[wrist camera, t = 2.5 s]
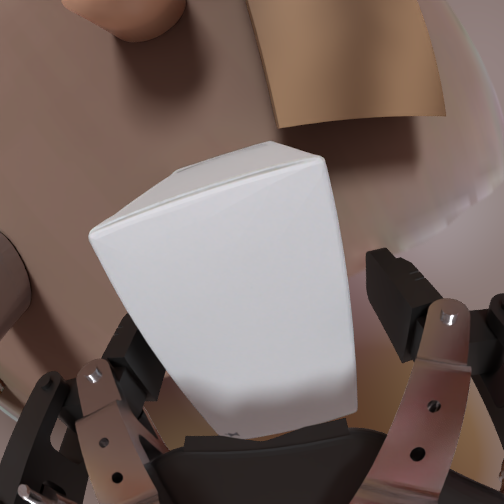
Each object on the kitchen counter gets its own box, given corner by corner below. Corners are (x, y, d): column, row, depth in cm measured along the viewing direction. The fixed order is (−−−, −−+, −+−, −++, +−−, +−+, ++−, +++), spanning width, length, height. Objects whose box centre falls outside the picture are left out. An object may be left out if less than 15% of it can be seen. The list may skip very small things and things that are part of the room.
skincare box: (315, 288, 19) (361, 416, 10) (227, 311, 20) (218, 444, 10) (278, 136, 15) (335, 151, 5) (171, 170, 15) (73, 238, 6)
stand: (271, 128, 15) (279, 128, 11) (228, -36, 9) (225, -69, 6) (408, 114, 14) (446, 116, 10) (362, -38, 9) (385, -63, 5)
